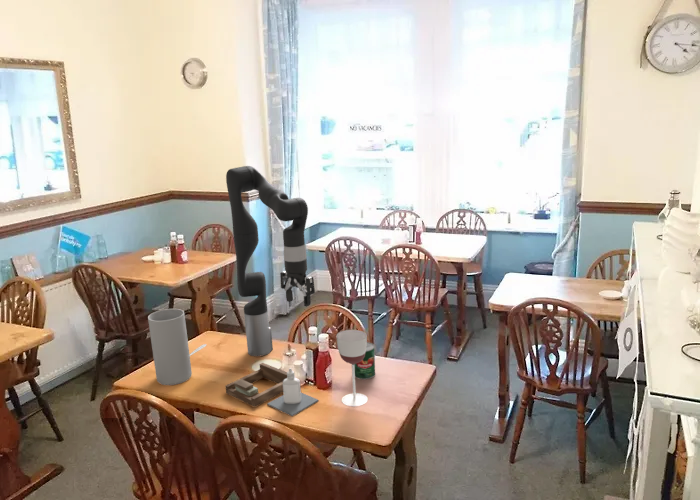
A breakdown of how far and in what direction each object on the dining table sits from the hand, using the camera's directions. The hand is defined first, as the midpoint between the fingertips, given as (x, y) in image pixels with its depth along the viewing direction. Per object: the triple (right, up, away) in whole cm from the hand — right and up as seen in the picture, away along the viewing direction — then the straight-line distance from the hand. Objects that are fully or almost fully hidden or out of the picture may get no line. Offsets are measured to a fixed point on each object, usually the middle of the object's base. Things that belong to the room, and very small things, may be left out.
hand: (298, 303), depth 195 cm
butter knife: (-48, -25, +33) cm, 63 cm away
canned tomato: (+23, -27, +12) cm, 38 cm away
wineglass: (+19, -32, -5) cm, 37 cm away
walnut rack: (-14, -31, +4) cm, 34 cm away
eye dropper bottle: (-1, -32, -6) cm, 33 cm away
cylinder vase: (-47, -29, +16) cm, 58 cm away
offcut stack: (-18, -32, +1) cm, 37 cm away
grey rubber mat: (-1, -33, -6) cm, 33 cm away
